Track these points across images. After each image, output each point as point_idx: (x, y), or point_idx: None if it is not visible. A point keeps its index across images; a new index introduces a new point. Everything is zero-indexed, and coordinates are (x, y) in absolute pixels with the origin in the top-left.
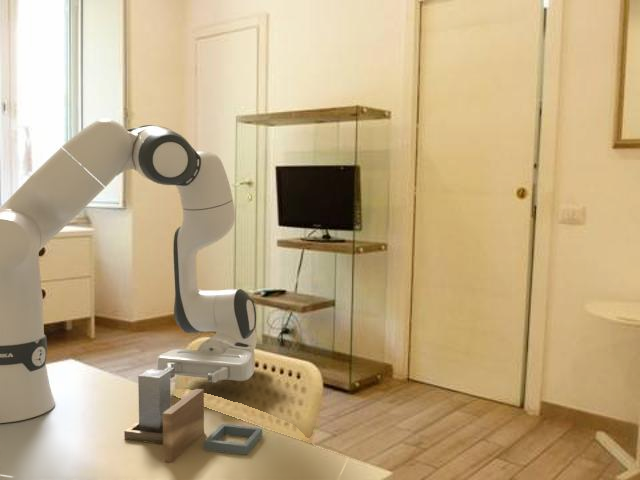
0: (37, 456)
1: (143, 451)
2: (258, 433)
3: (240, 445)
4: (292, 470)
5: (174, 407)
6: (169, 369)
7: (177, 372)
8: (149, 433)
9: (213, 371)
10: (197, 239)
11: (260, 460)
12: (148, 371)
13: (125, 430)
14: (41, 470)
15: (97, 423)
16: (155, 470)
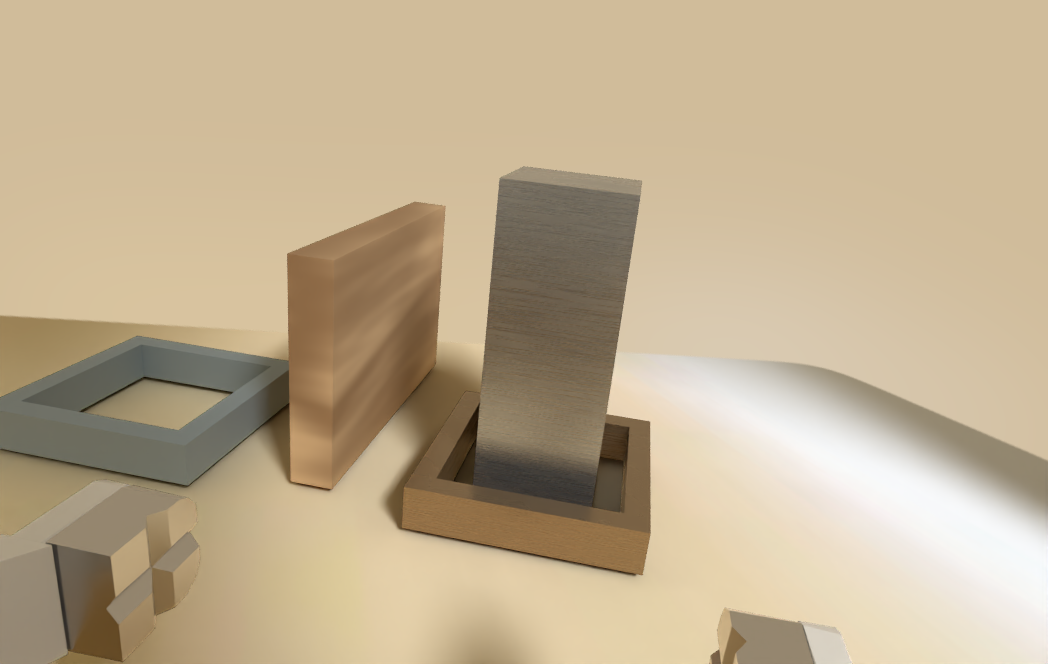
0: (843, 407)
1: None
2: (28, 388)
3: (159, 340)
4: (20, 325)
5: (413, 212)
6: (765, 623)
7: None
8: None
9: (81, 540)
10: None
11: None
12: (624, 187)
13: (648, 423)
14: (754, 368)
15: (923, 590)
16: (448, 350)
